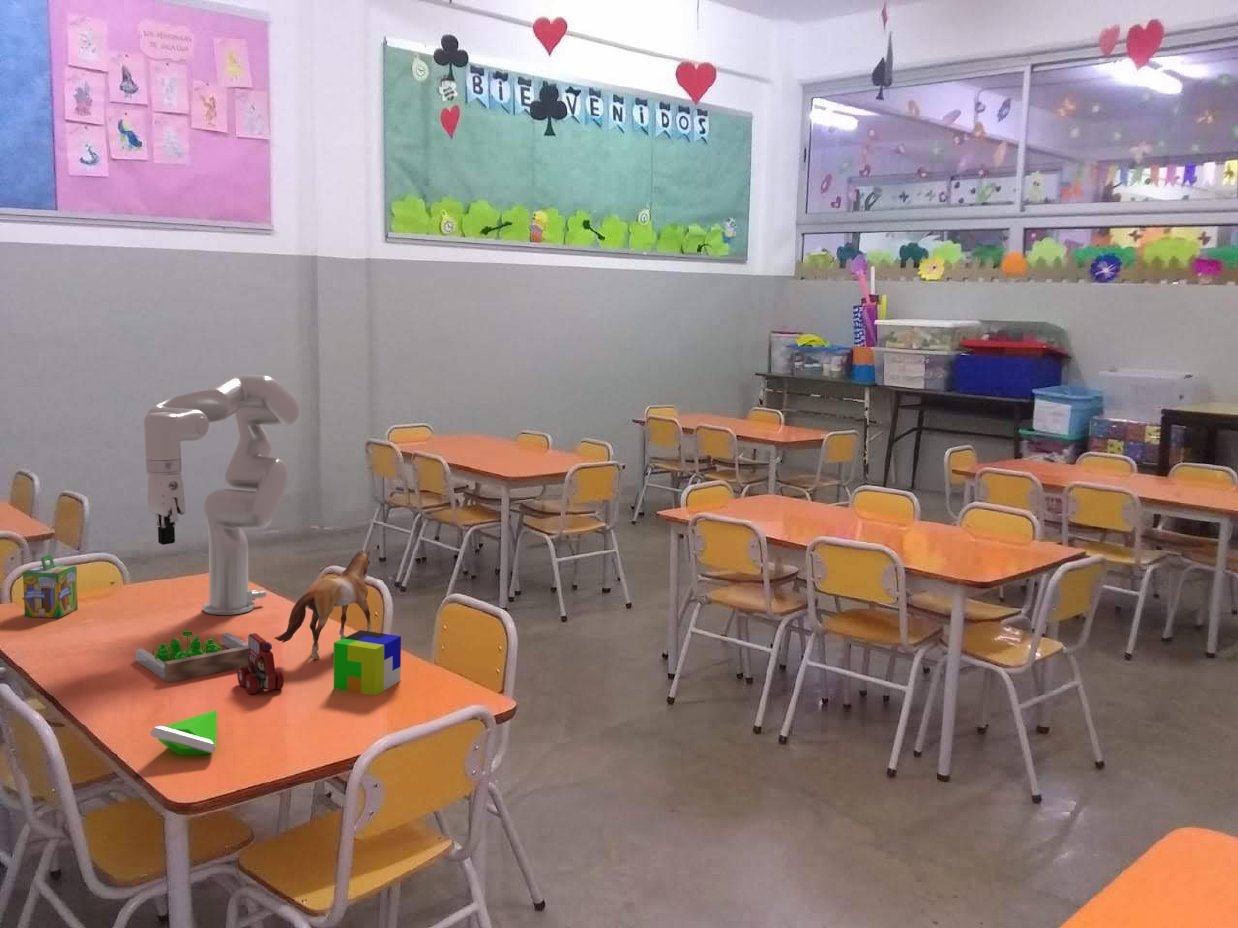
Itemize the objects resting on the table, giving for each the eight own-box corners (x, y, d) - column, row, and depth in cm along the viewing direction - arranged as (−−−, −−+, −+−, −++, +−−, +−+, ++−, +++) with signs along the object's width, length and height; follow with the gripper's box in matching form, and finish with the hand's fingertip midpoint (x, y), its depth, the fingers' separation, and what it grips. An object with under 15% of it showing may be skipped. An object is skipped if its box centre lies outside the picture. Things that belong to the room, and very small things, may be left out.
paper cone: (182, 719, 205) (142, 751, 180) (191, 692, 206) (153, 721, 181) (238, 735, 207) (207, 769, 182) (247, 709, 207) (217, 739, 182)
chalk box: (59, 619, 260) (57, 560, 258) (23, 617, 260) (20, 559, 258) (79, 609, 269) (77, 552, 267) (44, 607, 269) (42, 550, 267)
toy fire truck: (254, 699, 212) (253, 650, 210) (234, 681, 221) (234, 634, 220) (288, 693, 216) (287, 644, 215) (267, 676, 226) (267, 629, 224)
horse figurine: (362, 628, 262) (363, 548, 259) (388, 633, 259) (389, 552, 256) (273, 662, 234) (273, 572, 231) (300, 668, 231) (300, 577, 228)
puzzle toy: (400, 681, 226) (401, 636, 225) (375, 696, 217) (375, 649, 215) (360, 674, 229) (360, 630, 228) (333, 688, 220) (333, 642, 218)
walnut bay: (228, 643, 246) (228, 626, 246) (263, 662, 234) (263, 645, 233) (135, 660, 232) (135, 643, 231) (168, 682, 219) (168, 664, 218)
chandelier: (202, 647, 243) (202, 618, 242) (237, 663, 234) (236, 633, 233) (138, 662, 232) (137, 631, 231) (171, 679, 222) (171, 647, 221)
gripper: (194, 469, 240) (196, 547, 243) (166, 460, 250) (169, 534, 253) (161, 472, 234) (164, 552, 238) (134, 463, 245) (137, 539, 248)
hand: (166, 543), depth 245 cm, fingers closed
